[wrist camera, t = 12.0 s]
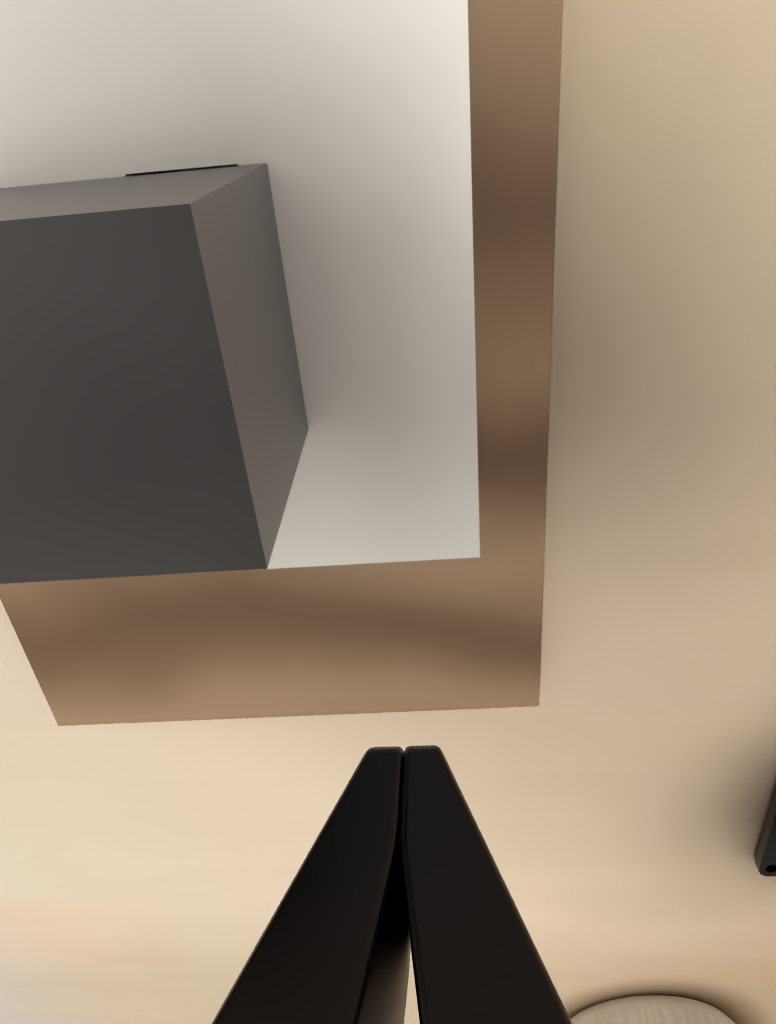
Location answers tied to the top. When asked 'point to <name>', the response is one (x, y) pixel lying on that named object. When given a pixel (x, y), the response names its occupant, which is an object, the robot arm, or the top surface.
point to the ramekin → (651, 1011)
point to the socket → (302, 219)
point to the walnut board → (374, 586)
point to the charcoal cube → (144, 376)
